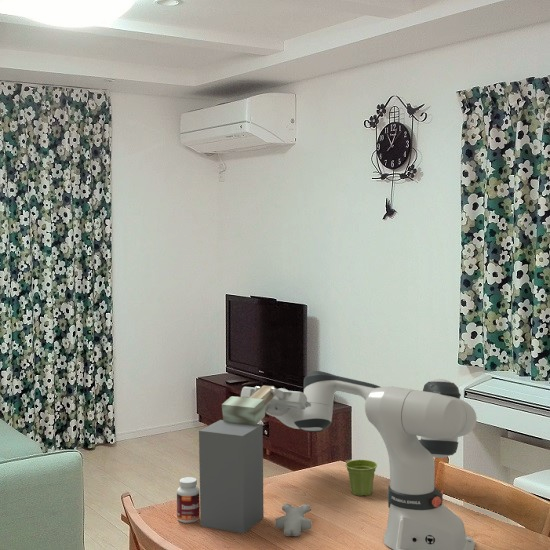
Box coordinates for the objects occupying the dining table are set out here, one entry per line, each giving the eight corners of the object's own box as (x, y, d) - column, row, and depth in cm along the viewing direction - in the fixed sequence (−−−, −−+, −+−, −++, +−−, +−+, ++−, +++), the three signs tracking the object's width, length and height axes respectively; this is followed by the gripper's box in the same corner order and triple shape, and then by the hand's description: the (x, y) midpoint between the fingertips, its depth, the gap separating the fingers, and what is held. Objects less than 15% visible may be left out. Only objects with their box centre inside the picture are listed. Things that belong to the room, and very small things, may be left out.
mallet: (285, 396, 234) (283, 380, 233) (255, 424, 216) (254, 407, 215) (254, 394, 238) (252, 378, 237) (223, 421, 220) (221, 404, 219)
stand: (263, 517, 219) (262, 424, 217) (243, 533, 208) (242, 435, 206) (221, 510, 224) (220, 419, 222) (200, 526, 213) (198, 430, 211)
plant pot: (339, 494, 236) (339, 465, 235) (355, 485, 244) (355, 457, 243) (367, 500, 231) (367, 471, 230) (382, 491, 238) (382, 462, 238)
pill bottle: (180, 525, 214) (180, 485, 213) (174, 517, 220) (173, 478, 219) (202, 521, 217) (202, 481, 216) (195, 513, 222) (195, 474, 221)
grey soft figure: (273, 523, 204) (279, 496, 219) (273, 542, 205) (279, 513, 220) (309, 525, 203) (313, 497, 218) (310, 543, 204) (313, 514, 219)
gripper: (311, 416, 239) (295, 403, 227) (249, 410, 247) (231, 396, 236) (314, 396, 241) (299, 382, 230) (254, 391, 249) (236, 376, 238)
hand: (264, 389), depth 233 cm, fingers closed on mallet, 3 cm apart
